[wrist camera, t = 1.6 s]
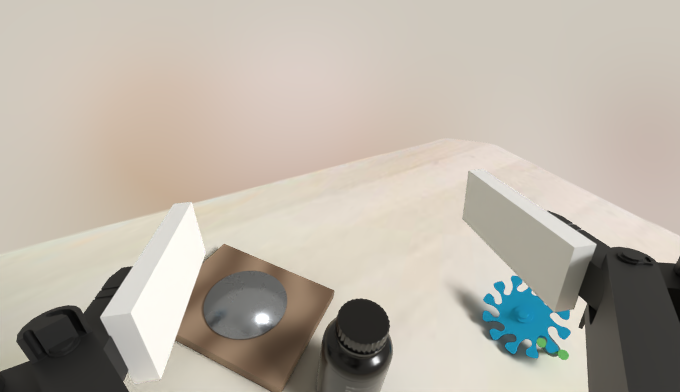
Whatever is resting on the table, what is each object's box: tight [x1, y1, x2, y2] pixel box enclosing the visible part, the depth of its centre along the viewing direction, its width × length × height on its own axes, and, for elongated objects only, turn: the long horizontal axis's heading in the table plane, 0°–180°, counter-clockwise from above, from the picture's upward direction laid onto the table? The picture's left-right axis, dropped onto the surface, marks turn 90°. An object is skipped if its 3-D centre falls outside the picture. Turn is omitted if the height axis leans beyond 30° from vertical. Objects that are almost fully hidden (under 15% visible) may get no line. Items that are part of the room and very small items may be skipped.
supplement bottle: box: [317, 299, 393, 392], centre depth 33 cm, size 7×7×12 cm
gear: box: [483, 276, 571, 360], centre depth 44 cm, size 11×6×10 cm
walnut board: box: [175, 244, 334, 392], centre depth 42 cm, size 18×14×2 cm
